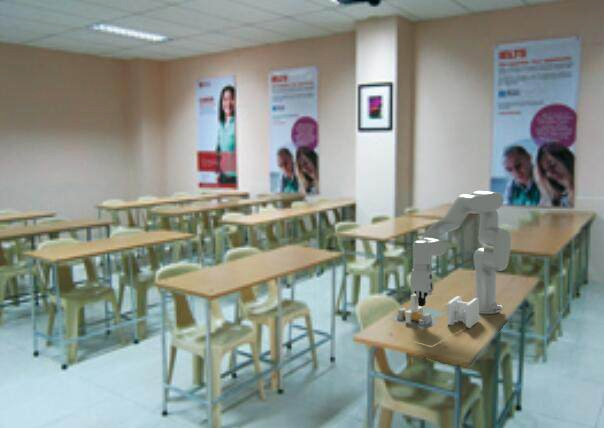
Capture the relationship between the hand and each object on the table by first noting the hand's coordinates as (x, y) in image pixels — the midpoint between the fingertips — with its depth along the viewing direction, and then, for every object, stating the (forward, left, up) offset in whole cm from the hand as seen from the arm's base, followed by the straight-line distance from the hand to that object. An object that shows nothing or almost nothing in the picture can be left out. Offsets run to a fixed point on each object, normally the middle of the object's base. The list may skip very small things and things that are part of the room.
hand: (421, 305), depth 239 cm
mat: (+7, -13, -9) cm, 17 cm away
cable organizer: (-15, -11, -9) cm, 21 cm away
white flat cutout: (+4, 0, -9) cm, 10 cm away
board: (+4, 0, -9) cm, 10 cm away
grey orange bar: (+4, 0, -8) cm, 9 cm away
